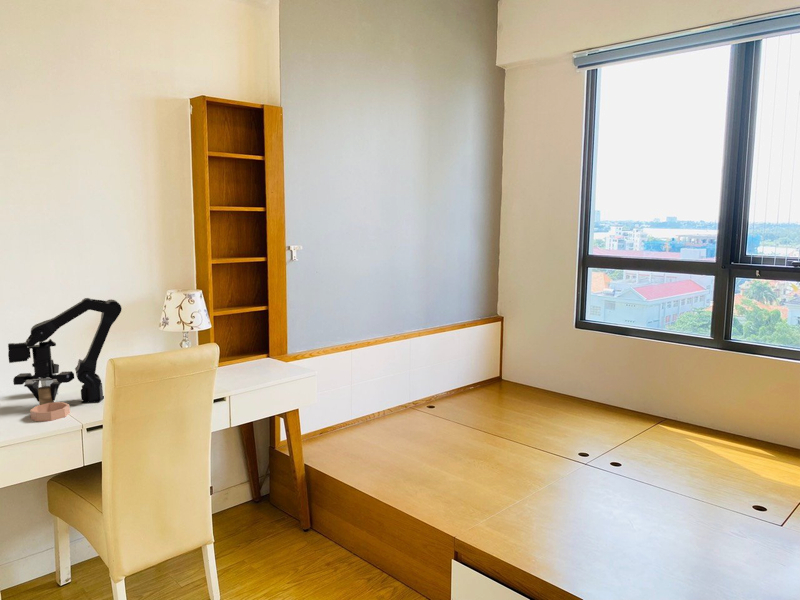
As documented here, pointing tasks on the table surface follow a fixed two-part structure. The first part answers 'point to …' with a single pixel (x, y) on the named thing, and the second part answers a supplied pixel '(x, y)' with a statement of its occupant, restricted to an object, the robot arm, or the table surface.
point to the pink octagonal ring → (44, 410)
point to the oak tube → (45, 395)
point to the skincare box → (47, 382)
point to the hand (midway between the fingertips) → (46, 400)
